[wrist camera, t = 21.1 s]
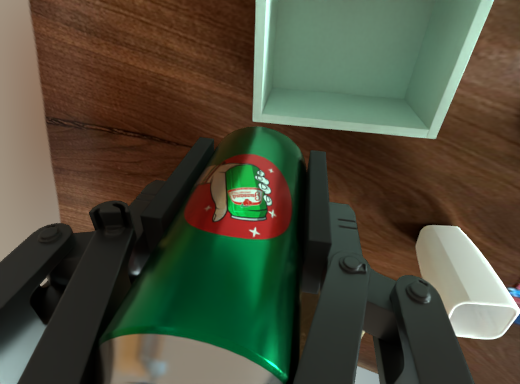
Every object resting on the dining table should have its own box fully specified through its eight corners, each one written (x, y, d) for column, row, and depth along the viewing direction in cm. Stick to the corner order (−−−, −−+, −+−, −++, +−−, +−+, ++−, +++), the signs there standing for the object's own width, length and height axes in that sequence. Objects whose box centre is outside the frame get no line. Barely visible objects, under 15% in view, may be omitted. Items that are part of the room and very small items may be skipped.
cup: (406, 251, 50) (437, 334, 38) (417, 217, 46) (455, 300, 34) (453, 254, 49) (499, 341, 36) (468, 220, 44) (526, 306, 32)
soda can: (262, 216, 18) (202, 484, 8) (197, 163, 16) (31, 414, 7) (326, 168, 15) (349, 474, 6) (257, 100, 14) (125, 358, 4)
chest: (407, 104, 36) (435, 139, 28) (265, 92, 38) (252, 121, 30) (454, -36, 28) (513, -47, 20) (272, -44, 30) (257, -56, 22)
